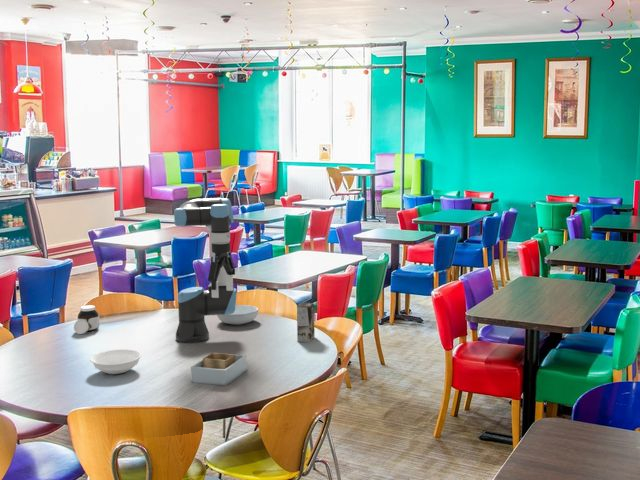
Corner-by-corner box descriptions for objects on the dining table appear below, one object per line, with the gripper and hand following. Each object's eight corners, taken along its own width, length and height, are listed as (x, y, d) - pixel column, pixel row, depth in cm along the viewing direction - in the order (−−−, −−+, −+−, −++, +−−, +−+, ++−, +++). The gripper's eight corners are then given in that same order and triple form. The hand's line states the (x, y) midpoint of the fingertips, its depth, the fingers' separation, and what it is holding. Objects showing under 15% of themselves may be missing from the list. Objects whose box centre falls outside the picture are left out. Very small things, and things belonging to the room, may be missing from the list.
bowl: (115, 383, 291) (114, 367, 290) (80, 375, 302) (79, 359, 301) (152, 369, 308) (152, 353, 307) (118, 361, 318) (117, 346, 317)
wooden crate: (203, 375, 296) (202, 358, 295) (212, 369, 303) (212, 352, 302) (226, 378, 293) (226, 360, 291) (235, 371, 300) (235, 354, 299)
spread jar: (99, 327, 373) (98, 304, 372) (100, 333, 363) (99, 309, 361) (73, 329, 370) (72, 306, 368) (74, 335, 359) (72, 311, 357)
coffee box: (310, 342, 342) (310, 307, 340) (297, 341, 344) (296, 306, 341) (315, 336, 351) (314, 302, 349) (301, 336, 352) (300, 302, 350)
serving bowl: (267, 320, 382) (266, 307, 381) (241, 330, 365) (240, 316, 364) (234, 315, 393) (234, 302, 392) (207, 324, 376) (207, 311, 375)
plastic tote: (191, 382, 291) (190, 367, 290) (214, 366, 309) (213, 352, 308) (225, 385, 287) (225, 370, 286) (246, 370, 305) (246, 355, 304)
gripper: (215, 247, 295) (217, 301, 299) (242, 238, 319) (243, 288, 322) (198, 246, 298) (200, 300, 301) (225, 237, 321) (227, 287, 324)
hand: (222, 294), depth 311 cm, fingers open, 13 cm apart
